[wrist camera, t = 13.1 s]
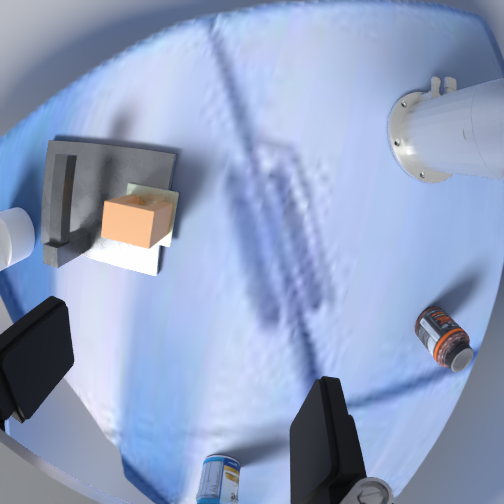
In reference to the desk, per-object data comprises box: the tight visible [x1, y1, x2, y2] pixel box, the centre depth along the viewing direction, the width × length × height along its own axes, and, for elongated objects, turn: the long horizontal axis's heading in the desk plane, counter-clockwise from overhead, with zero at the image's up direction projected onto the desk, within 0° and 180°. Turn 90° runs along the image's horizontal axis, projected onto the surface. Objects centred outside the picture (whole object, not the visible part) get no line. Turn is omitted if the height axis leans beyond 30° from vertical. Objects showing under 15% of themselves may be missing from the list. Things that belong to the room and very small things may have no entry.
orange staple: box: [101, 194, 173, 249], centre depth 31 cm, size 4×6×7 cm, turn 77°
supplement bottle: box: [415, 307, 473, 372], centre depth 34 cm, size 6×6×11 cm
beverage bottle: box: [196, 455, 240, 504], centre depth 41 cm, size 8×8×20 cm
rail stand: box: [41, 140, 179, 276], centre depth 31 cm, size 16×22×9 cm
